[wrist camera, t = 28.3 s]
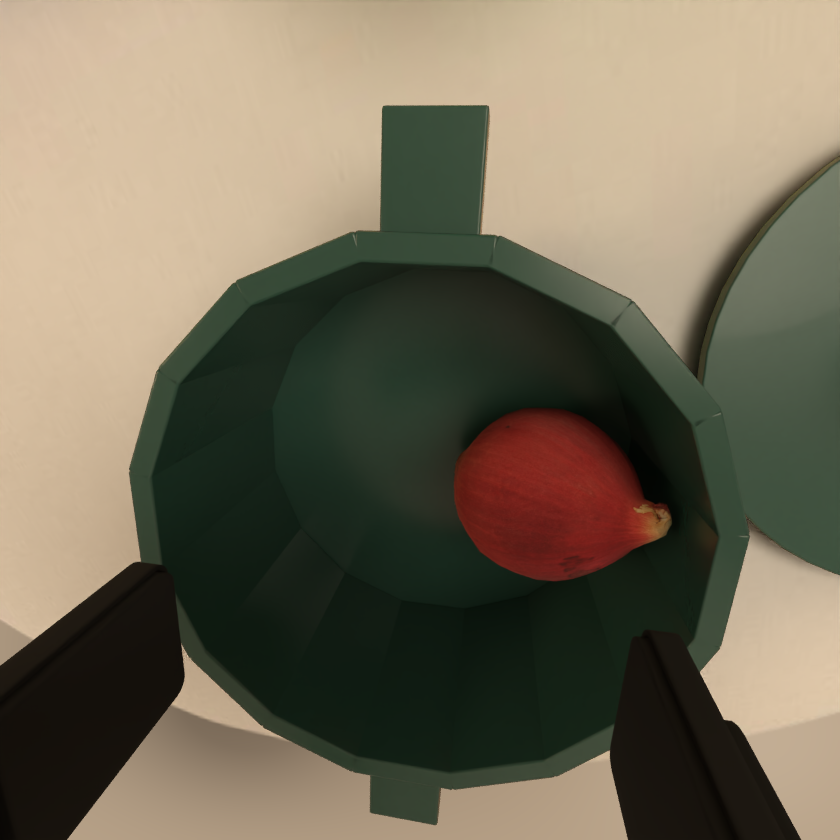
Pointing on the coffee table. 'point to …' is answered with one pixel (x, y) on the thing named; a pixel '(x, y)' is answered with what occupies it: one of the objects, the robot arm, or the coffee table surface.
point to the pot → (422, 490)
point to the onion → (552, 496)
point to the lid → (785, 372)
